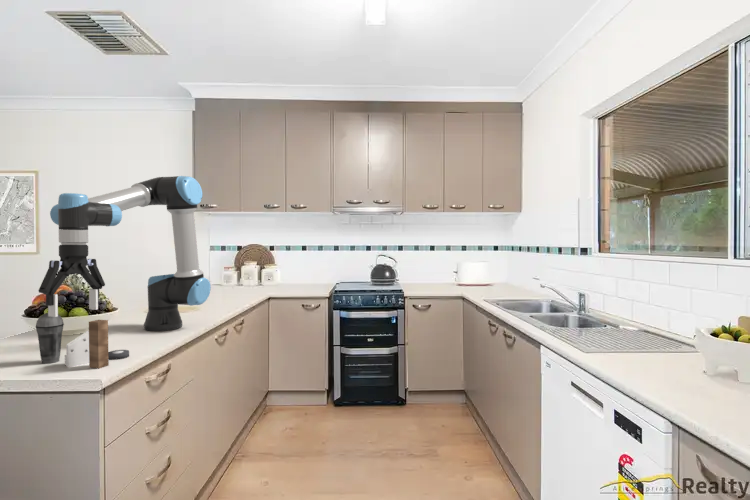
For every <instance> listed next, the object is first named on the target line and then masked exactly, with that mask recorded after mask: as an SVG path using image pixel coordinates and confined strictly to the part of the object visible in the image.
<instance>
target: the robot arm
mask: <svg viewBox="0 0 750 500" xmlns="http://www.w3.org/2000/svg"><path fill="white" fill-rule="evenodd" d="M202 198H203V189H202V187H201V185H200V183H199V181H198V180H197V179H196V178H194V177H192V176H186V175H179V176H158V177H157V176H156V177H154V178H150V179H147V180H144V181H140V182H137V183H134V184H132V185H131V187H127V188H124V189H119V190H116V191H113V192H112V191H111V192H108V193H105V194H101V195H96V196H93V197H88V195H87V194H83V193H72V192H70V193H69V192H65V193H61V194H59V196H58V202H57V203H58V204H55V205H53V206H52V207H51V209H50V211H49V215H50V219H51V221H52V222H53V223H54V224H55V225H56V226H58V243H60V244H59V245H58V256H59V257H60V259H59V260H55V259H54V260H52V259H51V260H49V262H48V268H47V271H46V273H45V275H44V278H43V279H42V282H41V284H40V286H39V288H38V290H37V291H38V293H40V294H43V295H45V304H46V306H47V313H48V316H51V317H57V316H58V315H59V308H58V306H59V303H58V302H59V301H58V298H59V296H58V294H57V291H58V290H59V289H60V287H61V286H62V285H63V283H64V281H65V280H66V279H67V277H69V276H71V275H80V276H81V278H83V280H84V281H85V282H86V283H87V284H88V285H89V287H90V289H88V304H89V305H88V309H89V310H93V311H94V310H99V298H100V290H102V289H103V287H105V286H106V283H105V281H104V278H103V277H102V274H101V272H100V269H99V268H98V264H97V263H98V262H97V259H96V258H87V257H88V256H89V245H88V243H89V227H115V226H117V225H119V224H120V223H121V221H122V218H123V213H122V212H124V211H127V210H130V209H133V208H136V207H141V208H145V207H148V206H166V211H167V212H168V213H169V214H171V221H172V223H171V224H172V231H173V242H174V251H175V254H174V255H175V263H176V271H175V273H169V274H162V275H154V276H150V277H149V278H148V281H147V305H148V307H147V313H146V315H145V316H146V317H145V321H144V323H143V330H145V331H147V332H148V331H150V332H163V331H172V330H177V329H181V328H182V327H183V320H182V317H181V314H180V311H179V305H182V306H183V305H184V306H185V305H186V306H190V307H191V306H201V305H203V304H204V303H205V302H206V301H208V298H209V296H210V293H211V288H212V287H211V281H209V279H208V278H207V277H204V276H205V275H204V272H203V271H202V269H200V266H199V265H200V264H199V263H200V262H199V254H198V245H197V244H198V243H197V233H196V232H197V231H196V223H195V221H196V219H195V212H196V211H197V210H198V205H199V204H200V203H201V201H202ZM56 274H57V275H56Z"/></svg>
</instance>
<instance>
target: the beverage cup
mask: <svg viewBox="0 0 750 500" xmlns="http://www.w3.org/2000/svg"><path fill="white" fill-rule="evenodd" d="M64 326H65V323H64V319H63V318H62V316H61V315H60V314H58V316H57V317H51V316H48V312H46V313H43V314H42V315H40V316H39V318H37V320H36V324H35V330H36V333H37V339H38V346H39V347H38V348H39V355H40V356H39V357H40V361H41V364H43V365H49V364H54V363H55V364H56V363H58V362H60V357H61V348H62V337H63V330H64Z"/></svg>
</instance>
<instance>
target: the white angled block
mask: <svg viewBox="0 0 750 500" xmlns="http://www.w3.org/2000/svg"><path fill="white" fill-rule="evenodd" d="M65 345H66V347H65V348H66V352H65V353H66V354H64V366H65V365H66V367H67V368H72V367H76V366H77V365H78V366H83V365H88V364H87V363H89V330H86V331H85V332H84V333H82V334H80V335H78V336H77V337H76V338H74V339H73V340H71V341H70V342H68V343H66V344H65ZM82 364H83V365H82Z"/></svg>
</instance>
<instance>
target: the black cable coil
mask: <svg viewBox="0 0 750 500" xmlns="http://www.w3.org/2000/svg"><path fill="white" fill-rule="evenodd" d="M129 357H130V351H129V350H128V349H116V350H111V351H110V350H109V351H108V359H109V360H110V361H113V360H114V361H115V360H116V361H117V360H118V361H119V360H123V359H127V358H129Z"/></svg>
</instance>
